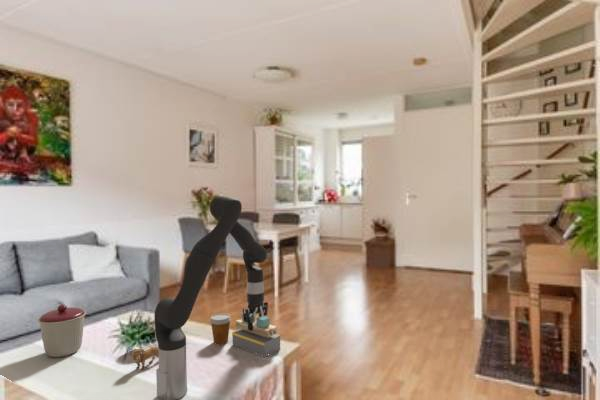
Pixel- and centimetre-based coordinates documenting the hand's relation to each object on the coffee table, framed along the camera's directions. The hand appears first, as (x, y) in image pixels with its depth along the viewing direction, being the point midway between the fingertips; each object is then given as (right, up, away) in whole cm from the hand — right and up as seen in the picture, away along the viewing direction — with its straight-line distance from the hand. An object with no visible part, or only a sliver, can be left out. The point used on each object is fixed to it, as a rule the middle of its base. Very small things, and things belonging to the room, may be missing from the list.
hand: (255, 327), depth 171 cm
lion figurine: (-42, -10, -17) cm, 46 cm away
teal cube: (+4, +2, -3) cm, 5 cm away
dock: (0, -9, 0) cm, 9 cm away
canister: (-84, -10, -3) cm, 85 cm away
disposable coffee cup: (-17, -9, +6) cm, 20 cm away
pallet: (0, -1, 0) cm, 1 cm away
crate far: (-4, +2, +3) cm, 5 cm away
